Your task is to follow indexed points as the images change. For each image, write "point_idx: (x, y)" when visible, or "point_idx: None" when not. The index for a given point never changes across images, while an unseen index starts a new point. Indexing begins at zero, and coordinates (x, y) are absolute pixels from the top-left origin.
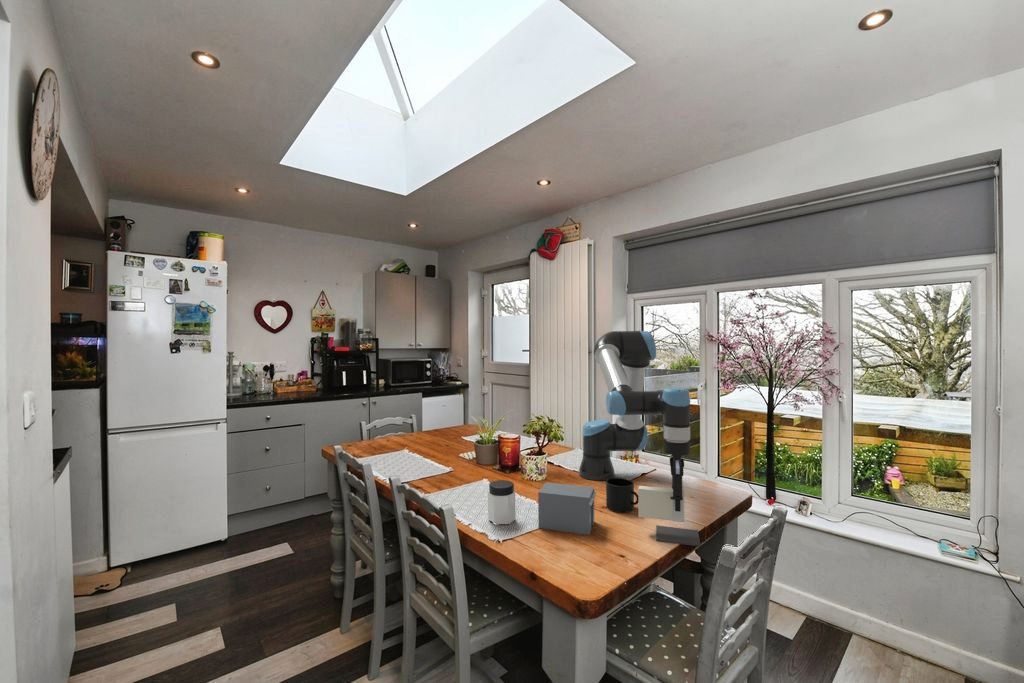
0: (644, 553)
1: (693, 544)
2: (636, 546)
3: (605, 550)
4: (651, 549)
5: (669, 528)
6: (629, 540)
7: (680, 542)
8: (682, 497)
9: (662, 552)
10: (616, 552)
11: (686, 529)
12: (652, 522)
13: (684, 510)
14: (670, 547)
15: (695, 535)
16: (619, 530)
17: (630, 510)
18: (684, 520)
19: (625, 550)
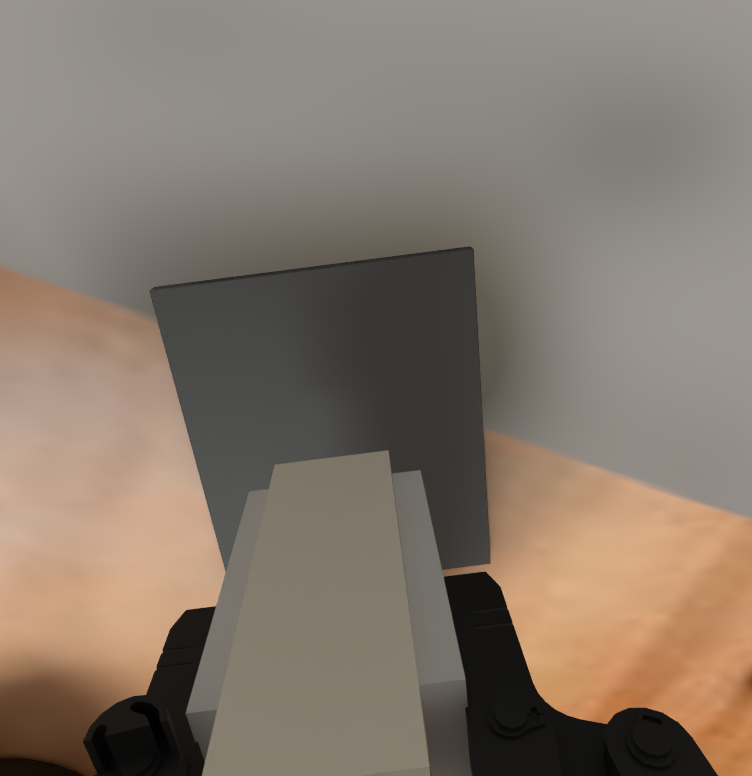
0: (701, 585)
1: (474, 307)
2: (614, 638)
3: (713, 752)
4: (632, 559)
5: (243, 508)
6: (540, 683)
7: (481, 406)
8: (671, 758)
9: (658, 495)
10: (724, 706)
11: (187, 385)
12: (163, 619)
13: (396, 530)
14: (561, 458)
15: (285, 303)
16: None
17: (54, 774)
18: (388, 461)
19: (687, 675)
